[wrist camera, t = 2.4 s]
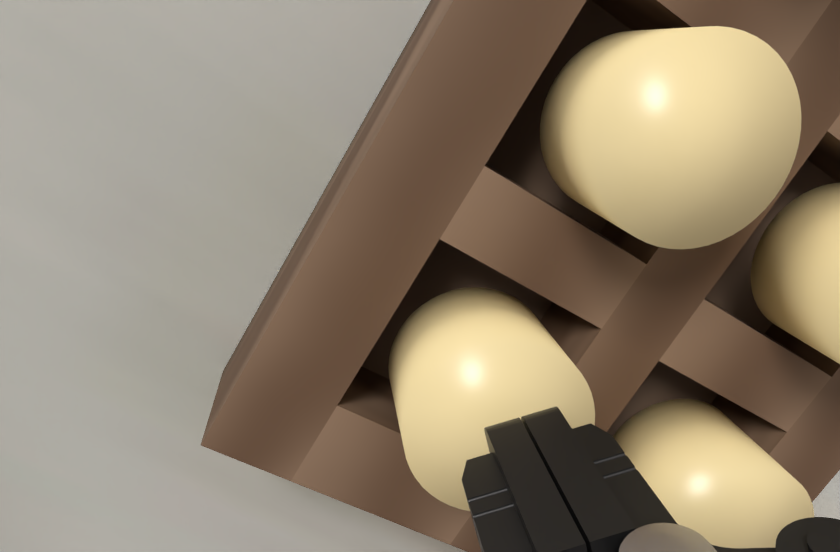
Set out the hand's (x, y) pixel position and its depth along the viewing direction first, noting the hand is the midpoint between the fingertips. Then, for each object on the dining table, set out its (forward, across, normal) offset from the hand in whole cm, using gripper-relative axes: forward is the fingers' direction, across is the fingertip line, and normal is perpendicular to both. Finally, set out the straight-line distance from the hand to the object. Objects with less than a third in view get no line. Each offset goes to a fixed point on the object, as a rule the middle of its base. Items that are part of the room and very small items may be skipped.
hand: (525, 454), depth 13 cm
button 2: (+4, -5, +5) cm, 8 cm away
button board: (+8, -5, 0) cm, 9 cm away
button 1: (+4, 0, 0) cm, 4 cm away
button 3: (+4, -5, -5) cm, 8 cm away
